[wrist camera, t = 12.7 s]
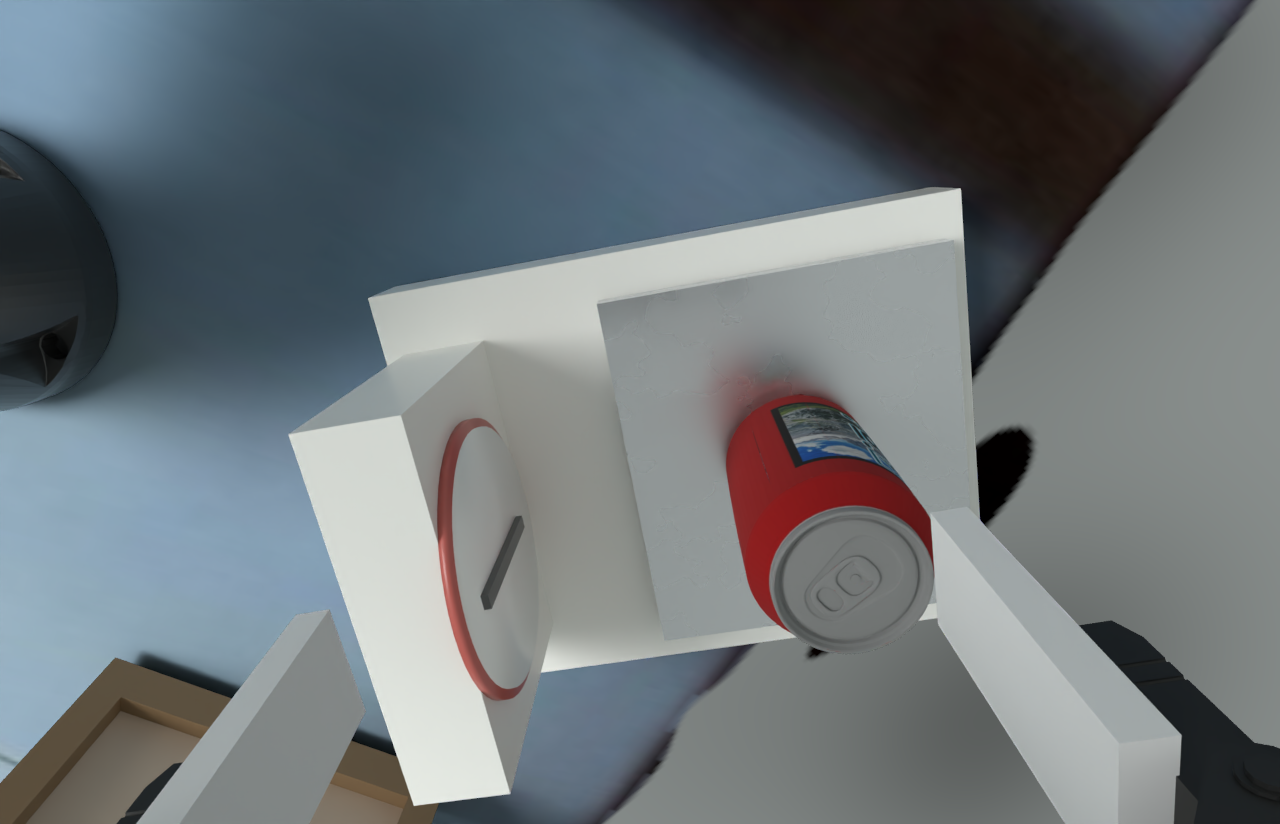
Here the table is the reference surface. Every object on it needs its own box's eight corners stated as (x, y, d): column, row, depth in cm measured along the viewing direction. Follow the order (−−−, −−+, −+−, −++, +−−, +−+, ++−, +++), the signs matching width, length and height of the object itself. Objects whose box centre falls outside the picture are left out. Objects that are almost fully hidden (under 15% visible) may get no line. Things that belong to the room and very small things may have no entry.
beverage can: (894, 456, 36) (999, 585, 25) (790, 546, 38) (843, 706, 26) (798, 360, 35) (862, 448, 24) (694, 457, 37) (706, 584, 25)
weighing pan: (664, 628, 41) (664, 640, 40) (598, 299, 36) (596, 304, 35) (966, 585, 40) (975, 597, 38) (944, 237, 34) (953, 240, 33)
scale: (493, 639, 47) (402, 885, 31) (396, 286, 40) (215, 360, 24) (957, 573, 44) (1124, 802, 28) (931, 186, 38) (1127, 196, 22)
